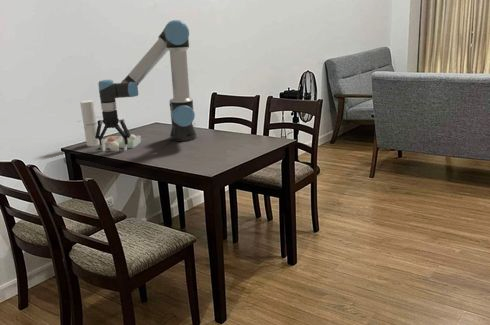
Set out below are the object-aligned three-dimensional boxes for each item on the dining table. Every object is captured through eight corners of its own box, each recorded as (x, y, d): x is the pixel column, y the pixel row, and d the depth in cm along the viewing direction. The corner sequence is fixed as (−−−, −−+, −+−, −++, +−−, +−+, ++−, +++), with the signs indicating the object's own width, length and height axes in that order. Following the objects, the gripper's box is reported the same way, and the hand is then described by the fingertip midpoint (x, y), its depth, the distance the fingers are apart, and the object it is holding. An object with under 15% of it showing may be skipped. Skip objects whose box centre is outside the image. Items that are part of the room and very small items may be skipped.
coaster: (119, 150, 262) (119, 148, 261) (117, 152, 258) (116, 150, 258) (112, 150, 262) (112, 148, 262) (110, 152, 258) (110, 150, 258)
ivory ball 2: (138, 141, 274) (137, 133, 273) (135, 144, 270) (134, 135, 268) (129, 142, 275) (128, 133, 273) (126, 144, 270) (125, 135, 269)
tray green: (141, 142, 275) (140, 135, 274) (133, 148, 263) (132, 141, 261) (128, 142, 276) (127, 136, 275) (119, 149, 263) (118, 142, 262)
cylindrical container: (96, 147, 270) (89, 102, 263) (84, 147, 272) (77, 102, 265) (102, 143, 277) (96, 100, 270) (90, 143, 278) (84, 100, 271)
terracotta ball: (118, 143, 272) (117, 135, 271) (115, 146, 268) (113, 137, 266) (109, 144, 273) (108, 135, 271) (106, 146, 268) (105, 137, 267)
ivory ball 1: (121, 149, 262) (119, 140, 261) (117, 151, 257) (116, 142, 256) (112, 149, 263) (110, 140, 261) (108, 152, 258) (107, 142, 256)
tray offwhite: (123, 143, 276) (122, 136, 275) (114, 149, 264) (113, 142, 263) (110, 143, 277) (109, 136, 276) (101, 149, 265) (100, 142, 263)
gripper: (133, 108, 256) (138, 148, 262) (90, 109, 259) (96, 149, 265) (128, 110, 249) (134, 152, 255) (84, 112, 251) (90, 153, 258)
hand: (114, 150), depth 260 cm, fingers open, 11 cm apart
